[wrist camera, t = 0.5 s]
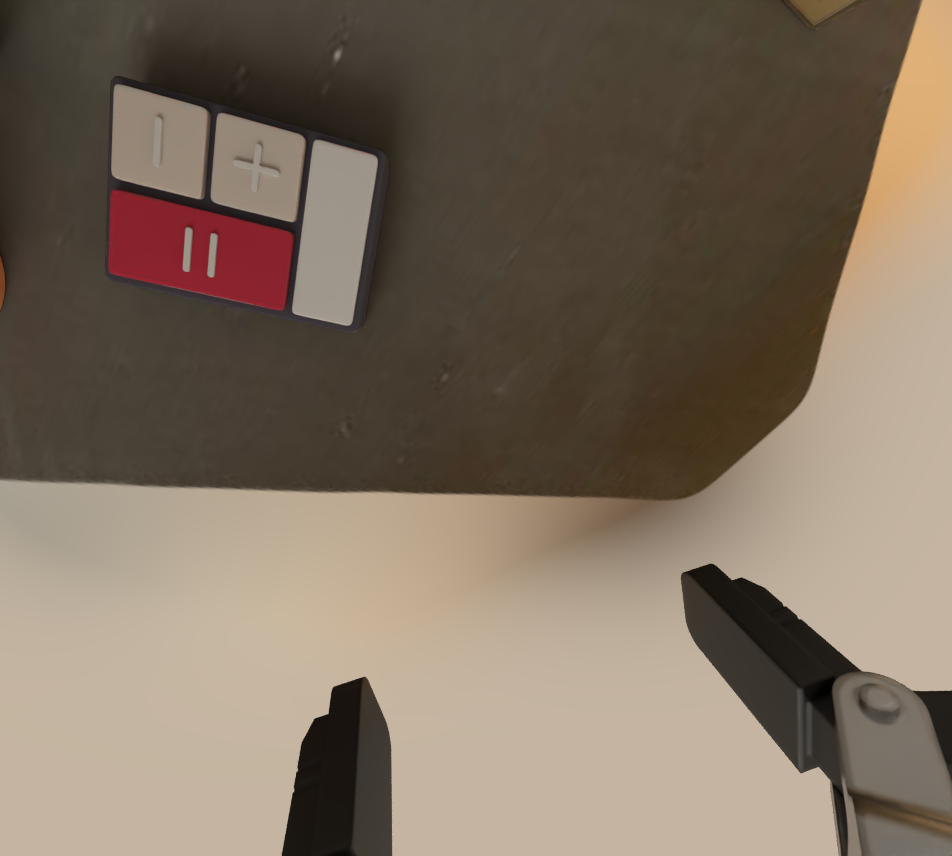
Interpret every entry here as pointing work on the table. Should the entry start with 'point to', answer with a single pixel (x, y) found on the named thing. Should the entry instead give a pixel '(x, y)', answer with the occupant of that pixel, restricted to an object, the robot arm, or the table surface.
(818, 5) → the food packaging
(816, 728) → the robot arm
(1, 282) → the pot
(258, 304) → the calculator
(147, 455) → the table surface
